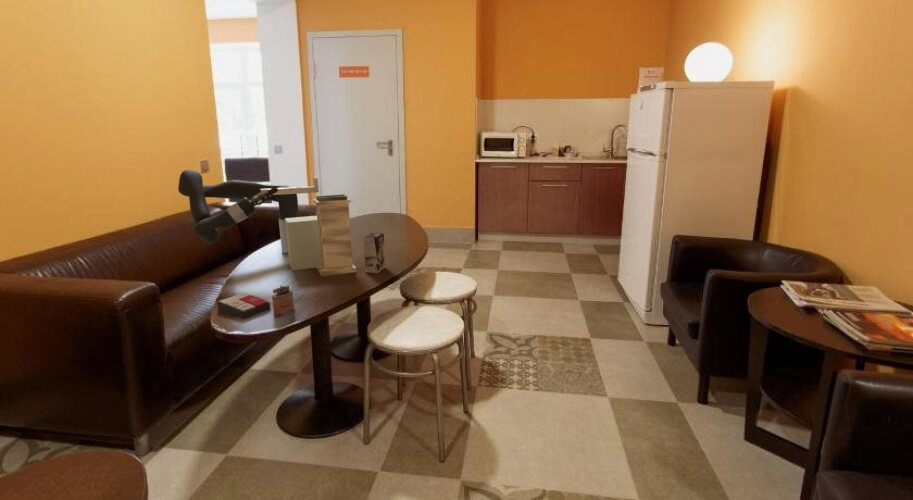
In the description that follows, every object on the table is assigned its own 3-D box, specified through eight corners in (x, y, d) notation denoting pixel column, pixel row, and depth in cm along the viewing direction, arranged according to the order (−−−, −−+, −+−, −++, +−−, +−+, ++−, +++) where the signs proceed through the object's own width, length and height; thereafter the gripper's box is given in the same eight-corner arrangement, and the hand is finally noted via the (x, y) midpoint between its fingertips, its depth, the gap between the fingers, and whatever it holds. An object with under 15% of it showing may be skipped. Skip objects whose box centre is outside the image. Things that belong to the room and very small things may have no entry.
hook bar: (260, 194, 216) (259, 179, 214) (317, 191, 226) (316, 177, 224) (261, 195, 213) (259, 180, 212) (318, 192, 223) (317, 177, 221)
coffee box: (378, 273, 219) (377, 237, 214) (365, 272, 220) (363, 236, 216) (385, 267, 227) (384, 232, 223) (372, 266, 228) (370, 232, 224)
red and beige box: (242, 310, 169) (216, 299, 177) (243, 322, 170) (217, 311, 178) (270, 300, 178) (244, 291, 186) (271, 311, 179) (245, 301, 187)
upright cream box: (289, 264, 232) (284, 218, 226) (324, 260, 238) (320, 215, 232) (292, 270, 223) (287, 222, 217) (328, 266, 229) (324, 219, 224)
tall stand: (317, 269, 224) (311, 195, 215) (350, 265, 230) (346, 193, 221) (322, 276, 214) (315, 199, 206) (356, 272, 221) (351, 196, 212)
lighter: (290, 309, 179) (288, 282, 176) (297, 311, 177) (294, 284, 174) (271, 316, 172) (268, 289, 170) (277, 318, 170) (274, 290, 168)
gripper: (246, 214, 221) (280, 193, 224) (247, 220, 208) (283, 197, 212) (235, 200, 217) (270, 178, 221) (236, 205, 205) (272, 182, 209)
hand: (276, 188), depth 217 cm, fingers closed on hook bar, 3 cm apart
